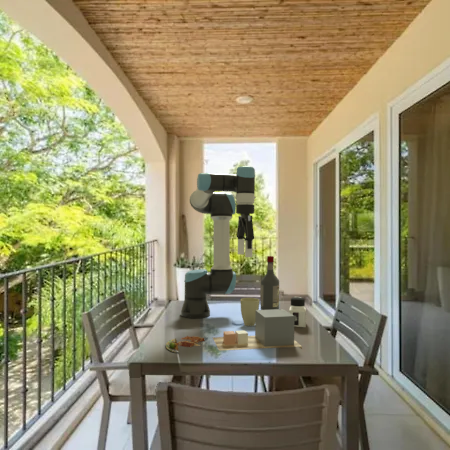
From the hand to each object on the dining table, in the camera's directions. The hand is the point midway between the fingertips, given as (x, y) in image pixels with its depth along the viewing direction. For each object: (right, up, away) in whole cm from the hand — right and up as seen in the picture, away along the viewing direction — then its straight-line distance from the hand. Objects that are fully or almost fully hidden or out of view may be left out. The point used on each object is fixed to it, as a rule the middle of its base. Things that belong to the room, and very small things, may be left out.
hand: (244, 255), depth 156 cm
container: (+26, -35, +24) cm, 50 cm away
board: (+4, -35, -7) cm, 36 cm away
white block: (-2, -33, -8) cm, 34 cm away
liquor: (+17, -35, +54) cm, 67 cm away
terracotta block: (-6, -33, -9) cm, 35 cm away
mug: (+3, -35, +24) cm, 43 cm away
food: (-22, -35, -9) cm, 42 cm away
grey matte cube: (+11, -33, -6) cm, 36 cm away
